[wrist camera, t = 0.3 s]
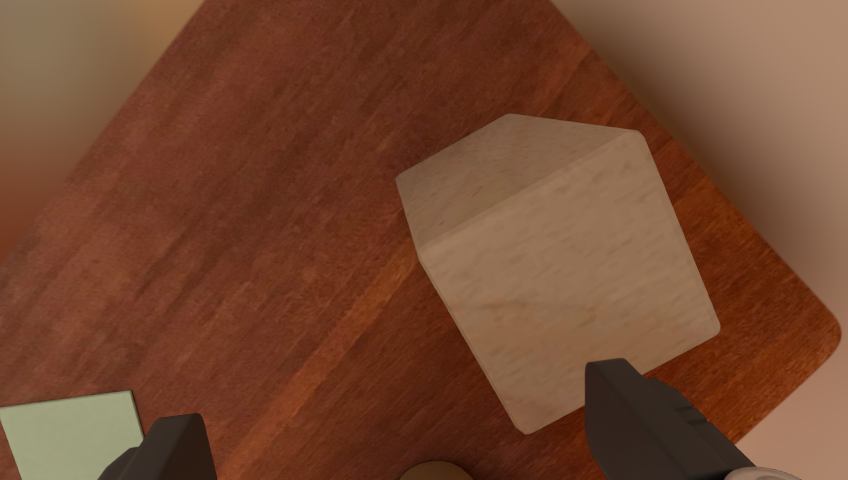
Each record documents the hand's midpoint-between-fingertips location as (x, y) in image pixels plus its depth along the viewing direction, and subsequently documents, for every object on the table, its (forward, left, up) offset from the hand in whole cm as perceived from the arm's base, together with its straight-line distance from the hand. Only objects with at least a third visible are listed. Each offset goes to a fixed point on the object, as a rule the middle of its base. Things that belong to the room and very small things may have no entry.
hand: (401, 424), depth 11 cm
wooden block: (+2, +8, -30) cm, 31 cm away
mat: (+20, -26, -30) cm, 45 cm away
